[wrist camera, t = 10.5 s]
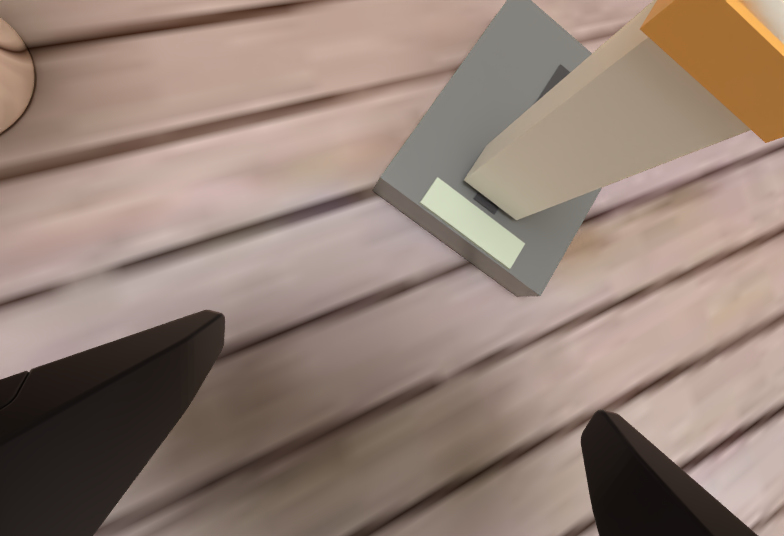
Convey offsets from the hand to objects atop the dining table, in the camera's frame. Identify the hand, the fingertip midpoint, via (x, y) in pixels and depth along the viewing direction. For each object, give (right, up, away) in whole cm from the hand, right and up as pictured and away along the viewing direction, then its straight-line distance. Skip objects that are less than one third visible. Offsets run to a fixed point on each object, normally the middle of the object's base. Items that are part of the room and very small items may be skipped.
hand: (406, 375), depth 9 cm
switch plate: (+6, +9, +11) cm, 15 cm away
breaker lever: (+5, +6, +8) cm, 11 cm away
